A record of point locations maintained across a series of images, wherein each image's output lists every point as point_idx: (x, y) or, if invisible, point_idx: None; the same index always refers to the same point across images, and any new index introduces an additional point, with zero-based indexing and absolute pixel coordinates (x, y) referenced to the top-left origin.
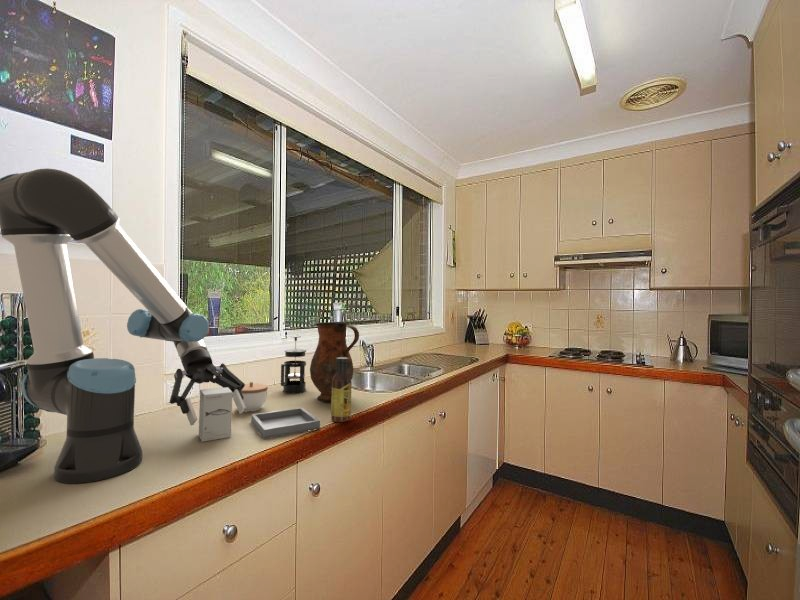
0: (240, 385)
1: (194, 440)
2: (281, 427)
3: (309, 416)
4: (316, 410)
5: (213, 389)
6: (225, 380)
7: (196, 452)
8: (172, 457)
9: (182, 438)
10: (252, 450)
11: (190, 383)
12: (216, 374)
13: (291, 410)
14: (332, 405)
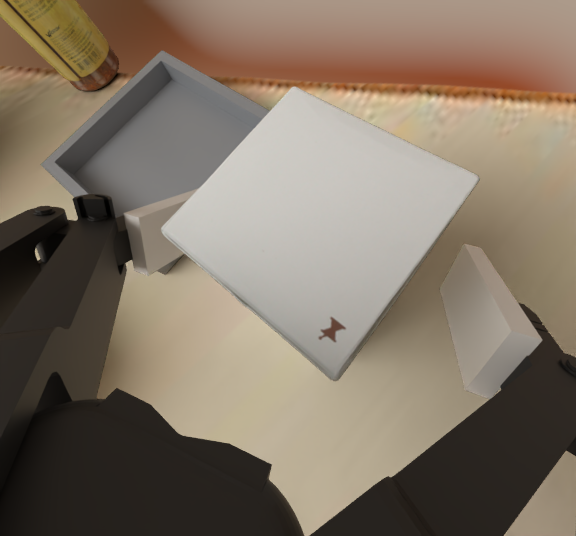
0: (82, 198)
1: (387, 323)
2: (242, 97)
3: (124, 99)
4: (18, 171)
5: (293, 249)
6: (69, 280)
7: (463, 230)
8: (537, 265)
9: (392, 387)
10: (370, 112)
11: (486, 489)
12: (21, 357)
13: (72, 178)
14: (72, 32)
